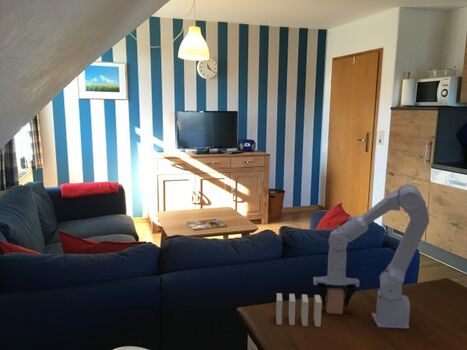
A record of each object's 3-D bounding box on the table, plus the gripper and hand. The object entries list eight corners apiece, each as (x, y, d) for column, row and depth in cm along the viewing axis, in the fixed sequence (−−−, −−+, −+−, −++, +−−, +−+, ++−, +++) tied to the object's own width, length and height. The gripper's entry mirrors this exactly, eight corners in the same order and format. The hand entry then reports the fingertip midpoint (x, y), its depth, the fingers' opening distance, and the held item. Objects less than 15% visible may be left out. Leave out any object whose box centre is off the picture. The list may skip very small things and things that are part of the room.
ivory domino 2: (293, 317, 130) (294, 293, 128) (294, 325, 125) (295, 301, 123) (288, 316, 130) (289, 293, 128) (289, 325, 125) (290, 301, 123)
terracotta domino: (326, 310, 134) (327, 288, 133) (341, 311, 133) (342, 288, 132) (327, 313, 132) (328, 290, 131) (342, 313, 132) (343, 291, 131)
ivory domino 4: (318, 318, 129) (319, 295, 128) (320, 326, 124) (321, 302, 123) (313, 318, 129) (314, 294, 128) (315, 326, 124) (316, 302, 123)
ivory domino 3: (306, 317, 129) (306, 294, 128) (307, 326, 124) (308, 302, 123) (301, 317, 129) (301, 294, 128) (302, 325, 124) (303, 301, 123)
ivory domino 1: (281, 316, 130) (281, 293, 129) (281, 324, 125) (282, 300, 124) (276, 316, 130) (276, 293, 129) (276, 324, 125) (277, 300, 124)
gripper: (356, 262, 134) (354, 300, 136) (312, 260, 135) (311, 298, 137) (361, 271, 127) (359, 311, 129) (315, 269, 128) (313, 308, 130)
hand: (334, 305), depth 132 cm, fingers open, 6 cm apart
